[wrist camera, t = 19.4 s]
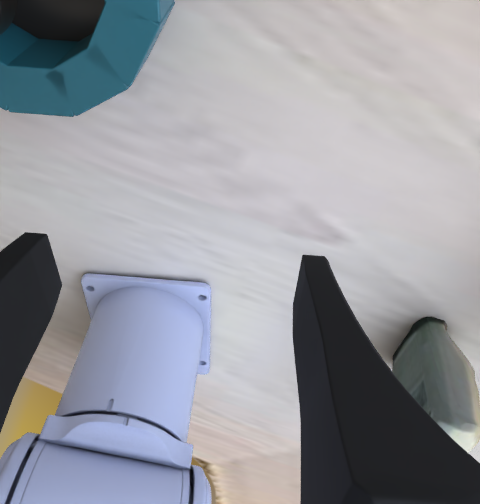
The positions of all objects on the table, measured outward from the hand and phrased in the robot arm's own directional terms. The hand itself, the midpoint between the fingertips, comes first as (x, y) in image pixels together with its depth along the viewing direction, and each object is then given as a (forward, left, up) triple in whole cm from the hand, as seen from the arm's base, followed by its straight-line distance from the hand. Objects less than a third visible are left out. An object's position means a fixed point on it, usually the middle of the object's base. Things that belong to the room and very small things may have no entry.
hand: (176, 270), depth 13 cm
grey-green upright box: (-15, -14, -11) cm, 23 cm away
